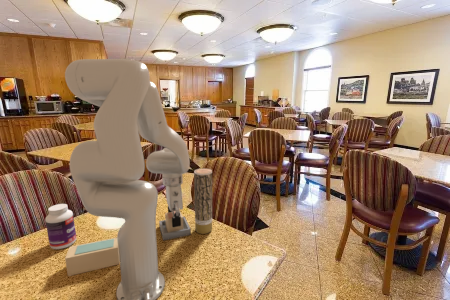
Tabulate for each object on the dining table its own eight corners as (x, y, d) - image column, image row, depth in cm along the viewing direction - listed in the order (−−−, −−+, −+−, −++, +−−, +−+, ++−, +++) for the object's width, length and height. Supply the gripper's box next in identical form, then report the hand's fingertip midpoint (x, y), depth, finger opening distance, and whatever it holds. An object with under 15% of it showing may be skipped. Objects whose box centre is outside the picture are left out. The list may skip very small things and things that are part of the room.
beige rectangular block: (119, 264, 74) (117, 246, 72) (67, 276, 68) (64, 258, 67) (119, 252, 79) (118, 236, 78) (71, 263, 74) (68, 246, 73)
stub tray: (190, 234, 90) (190, 229, 90) (163, 240, 86) (162, 234, 86) (184, 221, 100) (184, 216, 99) (159, 226, 96) (159, 221, 95)
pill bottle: (73, 248, 81) (67, 210, 78) (46, 252, 79) (39, 214, 76) (79, 235, 89) (74, 200, 86) (55, 239, 86) (49, 203, 83)
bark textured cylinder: (214, 232, 92) (214, 172, 86) (197, 236, 89) (196, 174, 84) (209, 224, 98) (208, 167, 93) (193, 227, 95) (192, 169, 90)
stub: (183, 231, 91) (183, 216, 90) (168, 234, 89) (167, 219, 88) (180, 223, 97) (179, 209, 95) (165, 226, 94) (165, 212, 93)
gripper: (187, 186, 82) (188, 229, 86) (177, 172, 98) (179, 209, 101) (166, 188, 79) (168, 233, 83) (159, 173, 95) (161, 212, 98)
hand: (174, 220), depth 92 cm, fingers open, 9 cm apart
